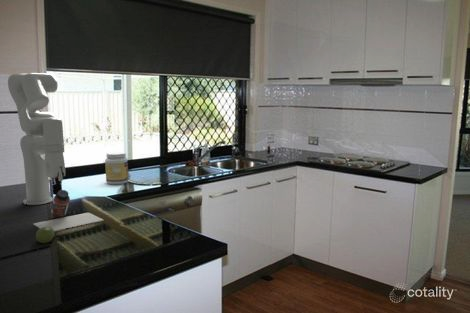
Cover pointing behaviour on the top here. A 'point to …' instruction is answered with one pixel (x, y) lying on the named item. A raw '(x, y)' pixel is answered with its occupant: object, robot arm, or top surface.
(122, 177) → the supplement tub
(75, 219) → the mat
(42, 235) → the pear
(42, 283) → the top surface
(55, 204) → the supplement bottle
